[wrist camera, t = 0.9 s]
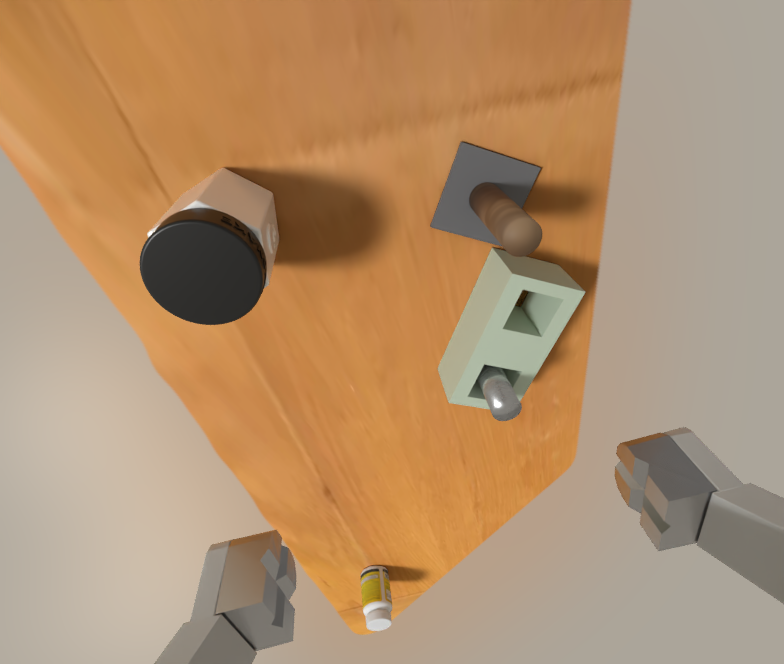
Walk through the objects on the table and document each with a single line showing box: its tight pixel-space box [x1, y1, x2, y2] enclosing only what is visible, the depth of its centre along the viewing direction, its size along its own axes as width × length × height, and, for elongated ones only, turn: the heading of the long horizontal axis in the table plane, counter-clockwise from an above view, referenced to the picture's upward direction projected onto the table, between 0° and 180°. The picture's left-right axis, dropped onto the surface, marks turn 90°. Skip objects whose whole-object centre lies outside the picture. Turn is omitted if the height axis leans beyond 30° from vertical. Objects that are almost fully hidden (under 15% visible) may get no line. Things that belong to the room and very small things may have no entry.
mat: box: [430, 142, 541, 246], centre depth 42 cm, size 8×8×1 cm
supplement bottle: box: [361, 566, 392, 631], centre depth 74 cm, size 5×5×8 cm
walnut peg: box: [469, 182, 542, 257], centre depth 38 cm, size 3×3×10 cm
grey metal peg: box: [477, 364, 522, 421], centre depth 49 cm, size 3×3×10 cm
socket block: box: [438, 248, 585, 409], centre depth 48 cm, size 16×8×6 cm, turn 163°
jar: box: [140, 168, 279, 325], centre depth 36 cm, size 9×8×12 cm
